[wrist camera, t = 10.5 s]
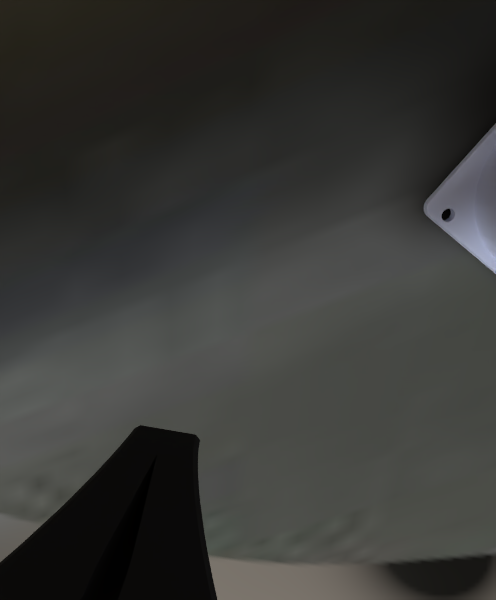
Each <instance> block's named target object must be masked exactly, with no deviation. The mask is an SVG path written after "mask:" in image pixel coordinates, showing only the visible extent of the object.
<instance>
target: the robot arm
mask: <svg viewBox="0 0 496 600" xmlns="http://www.w3.org/2000/svg"><path fill="white" fill-rule="evenodd" d="M446 209H450V211H451V215H450V217H449V218H448V219H446V220H443V219H442V213H443V211H444V210H446ZM424 213H425V214H426V216H427V217H429V218H430V219H431V220H432V221H433V222H434V223H436V224H437V225H438V226H439V227H440V228H442V229H443V230H444V231H445V232H446V233H448V234H449V235H450V236H451V237H452V238H453V239H455V240H456V241H457V242H458V243H459V244H461V245H462V246H463V247H464V248H465V249H467V250H468V251H469V252H470V253H471V254H472V255H474V256H475V257H476V258H477V259H478V260H480V261H481V262H482V263H483V264H484V265H486V266H487V267H488V268H489V269H490V270H491V271H493V272H494V273H495V274H496V123H495V125H494V126H493V127H492V128H491V129H490V130H489V131H488V132H487V133H486V134H485V136H484V137H483V138H482V139H481V140H480V141H479V142H478V143H477V144H476V146H475V147H474V148H473V149H472V150H471V151H470V152H469V153H468V154H467V156H466V157H465V158H464V159H463V160H462V161H461V162H460V163H459V164H458V165H457V167H456V168H455V169H454V170H453V171H452V172H451V173H450V174H449V175H448V177H447V178H446V179H445V180H444V181H443V182H442V183H441V184H440V185H439V187H438V188H437V189H436V190H435V191H434V192H433V193H432V194H431V195H430V197H429V198H428V199H427V200H426V202H425V203H424ZM199 442H200V440H199V438H198V437H197V436H196V435H194V434H188V433H182V432H177V431H171V430H165V429H159V428H153V427H147V426H141V425H140V426H138V427H136V428H135V429H134V430H133V431H132V432H131V434H130V435H129V436H128V437H127V439H126V440H125V441H124V442H123V443H122V444H121V446H120V447H119V448H118V449H117V450H116V451H115V452H114V454H113V455H112V456H111V457H110V458H109V459H108V460H107V461H106V462H105V463H104V464H103V466H102V467H101V468H100V469H99V470H98V471H97V472H96V473H95V474H94V475H93V476H92V477H91V478H90V479H89V480H88V481H87V482H86V483H85V484H84V485H83V486H82V487H81V488H80V489H79V490H78V491H77V492H76V493H75V494H74V495H73V496H72V497H71V498H70V499H69V500H68V501H67V502H66V503H65V504H64V505H63V506H62V507H61V508H60V509H59V510H58V511H57V512H56V513H55V514H54V515H53V516H51V517H50V518H49V519H48V520H47V521H46V522H45V523H44V524H43V525H42V526H41V527H39V528H38V529H37V530H36V531H35V532H34V533H33V534H32V535H31V536H30V537H29V538H28V539H27V540H25V542H23V543H22V544H21V545H20V546H19V547H18V548H16V549H15V550H14V551H13V552H12V553H11V554H10V555H8V556H7V557H6V558H5V559H4V560H3V561H1V562H0V600H217V596H216V592H215V587H214V583H213V578H212V573H211V568H210V563H209V557H208V552H207V547H206V541H205V535H204V528H203V520H202V513H201V505H200V496H199V484H198V448H199Z"/></svg>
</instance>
